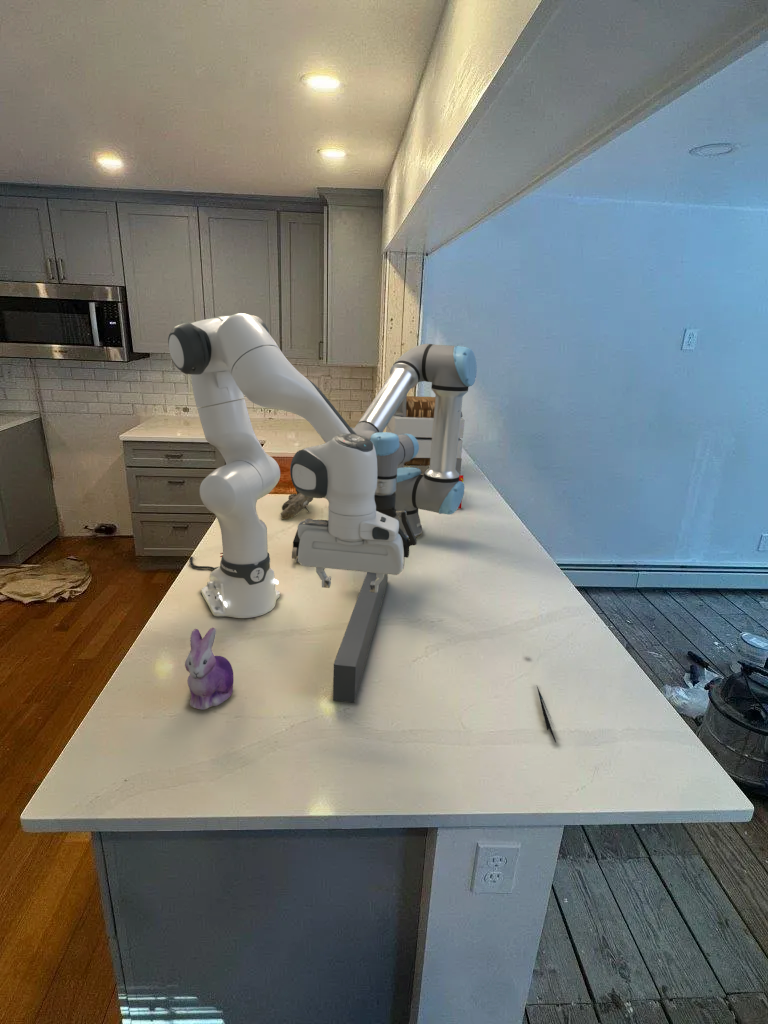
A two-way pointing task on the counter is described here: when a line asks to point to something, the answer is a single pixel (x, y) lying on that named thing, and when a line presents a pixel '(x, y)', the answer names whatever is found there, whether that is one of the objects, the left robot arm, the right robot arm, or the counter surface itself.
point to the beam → (357, 641)
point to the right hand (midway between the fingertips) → (377, 565)
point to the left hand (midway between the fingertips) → (350, 588)
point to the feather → (545, 714)
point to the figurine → (207, 672)
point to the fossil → (295, 505)
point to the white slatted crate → (420, 428)
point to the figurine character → (295, 546)
